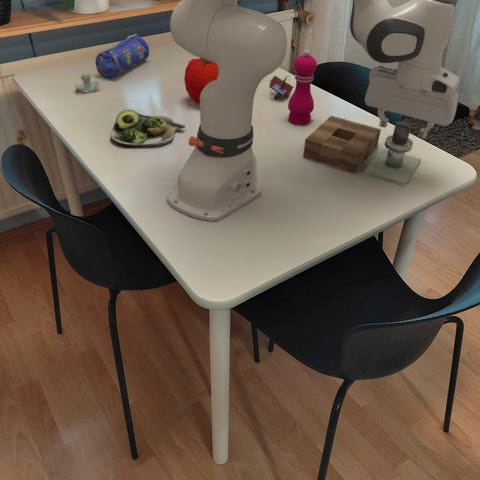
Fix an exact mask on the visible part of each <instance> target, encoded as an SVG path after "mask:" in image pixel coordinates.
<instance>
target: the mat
mask: <svg viewBox="0 0 480 480" xmlns="http://www.w3.org/2000/svg"><path fill="white" fill-rule="evenodd" d="M388 150H389V149H388V148H382V149H381V150H380V152H378V154H377V155H376V157H375V158H374V159H373V160H372V161H371V162H370V164H369V165H368V166H367V168H366V169H365V170H364V174H367V175H369V176H372V175H373V177H376V178H379V179H383V180H385V179H386V180H385V181H388V180H389V181H388V182H391V181H393V182H392V183H395V182H396V183H395V184H398V183H399V185H401V184H402V186H404V185H405V184H406V185H407V184H408V182H409V180H410V179H409V178H411V177H412V175H413V174H414V173H415V171H416V169H417V168H418V167H419V165H420V164H421V161H422V159H421V158H418V157H414V156H411V155H407V154H405V155H404V159H403V163H402V166H401V168H398V169H393V168H389V167H388V166H386V164H385V162H386V158H387V154H388ZM407 181H408V182H407ZM406 185H405V186H406Z"/></svg>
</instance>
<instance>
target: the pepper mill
mask: <svg viewBox="0 0 480 480" xmlns="http://www.w3.org/2000/svg"><path fill="white" fill-rule="evenodd" d="M317 66H318V64H317V60H316V59H315V57H313V56H312V55H311V51H310V50H309V49H305V50H303V54H302V55H299V56H297V58H296V59H295V61H294V63H293V68H294V71H295V73H294V75H295V76H294V79H295V87H294V91H293V93H292V94H291V96H290V98H289V100H288V105H287V109H288V111H289V114H288V121H289V122H290V123H291V124H293V125H297V126H306V125H307V124H310V122H311V117H312V115H311V113H312V112H313V110H314V108H315V103H314V98H313V96H312V92H311V85H312V82H313V80H314V73H315V72H316V71H317V69H318V68H317Z"/></svg>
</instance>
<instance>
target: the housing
mask: <svg viewBox="0 0 480 480" xmlns="http://www.w3.org/2000/svg"><path fill="white" fill-rule="evenodd" d="M381 130H382V129H381V128H377V127H374V126H370V125H367V124H363V123H359V122H356V121H352V120H349V119H345V118H342V117H338V116H335V115H330V116H329V117H328V118H327V119H326V120H325V121H323V123H322V124H320V125H319V126H317V128H315V130H313V132H312V133H311V134H309V135H308V136H307V137H306V138H305V139H304V145H303V156H302V157H303V158H305V159H309V160H311V161H314V162H318V163H321V164H324V165H328V166H330V167H334V168H336V169H339V170H343V171H346V172H350V173H353V174H356V172H357V171H358V170H359V169H360V168H361V167H362V165H363V164H364V163H365V162H366V161H367V160H368V159H369V157H370V156H371V154H373V152H374V151H375V150H376V149H377V147H378V143H379V140H380V136H381Z"/></svg>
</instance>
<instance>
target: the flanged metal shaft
mask: <svg viewBox="0 0 480 480" xmlns="http://www.w3.org/2000/svg"><path fill="white" fill-rule="evenodd" d="M411 130H412V124H411V123H410V122H407V121H404V120H400V121H396V122H395V125H394V129H393V134H392V135H388V136H387V137H386V138H385V140H384V141H385V142H384V146H385V149H387V150H388V154H387V158H386V162H385V164H386V166H388V167H389V168H393V169H398V168H401V166H402V163H403V159H404V155H406V153H408V152H411V150H412V148H413V145H414V142H413V140H412V139H411V138H409V136H410V133H411Z"/></svg>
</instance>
